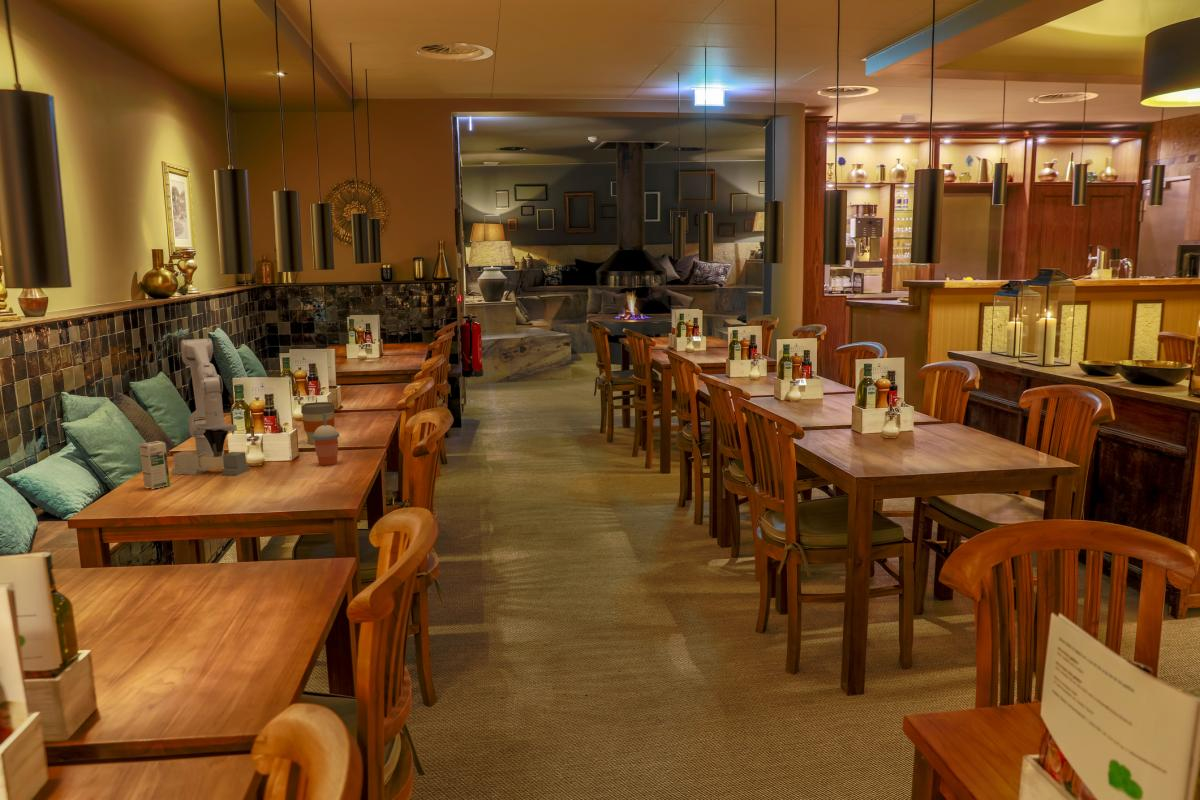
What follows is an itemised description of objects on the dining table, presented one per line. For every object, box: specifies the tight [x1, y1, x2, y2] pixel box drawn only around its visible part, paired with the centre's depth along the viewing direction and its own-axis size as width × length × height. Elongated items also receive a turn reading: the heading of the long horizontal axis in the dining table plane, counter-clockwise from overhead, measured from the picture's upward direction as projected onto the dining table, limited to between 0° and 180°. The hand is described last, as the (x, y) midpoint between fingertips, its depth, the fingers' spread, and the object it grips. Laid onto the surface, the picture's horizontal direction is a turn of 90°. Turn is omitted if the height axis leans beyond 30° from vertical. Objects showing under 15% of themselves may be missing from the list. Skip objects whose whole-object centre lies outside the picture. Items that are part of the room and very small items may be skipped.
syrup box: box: [139, 440, 171, 489], centre depth 280 cm, size 6×6×14 cm
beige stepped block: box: [171, 450, 212, 476], centre depth 300 cm, size 9×8×7 cm
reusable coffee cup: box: [300, 401, 336, 445], centre depth 344 cm, size 13×13×15 cm
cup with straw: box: [312, 413, 340, 467], centre depth 307 cm, size 9×9×18 cm
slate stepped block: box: [221, 451, 250, 477], centre depth 297 cm, size 5×8×7 cm, turn 170°
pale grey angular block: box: [199, 443, 224, 468], centre depth 298 cm, size 14×4×8 cm, turn 80°
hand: (217, 451), depth 298 cm, fingers closed on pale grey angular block
